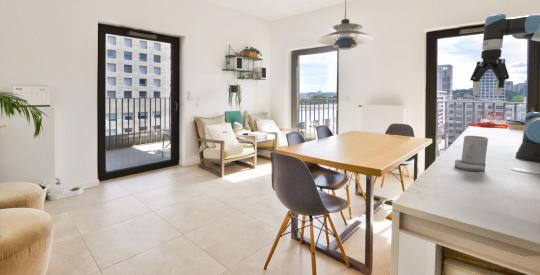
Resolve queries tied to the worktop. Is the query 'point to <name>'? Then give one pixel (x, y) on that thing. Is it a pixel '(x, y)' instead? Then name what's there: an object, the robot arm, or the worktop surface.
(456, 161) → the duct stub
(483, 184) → the worktop surface
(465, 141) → the mug
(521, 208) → the worktop surface
